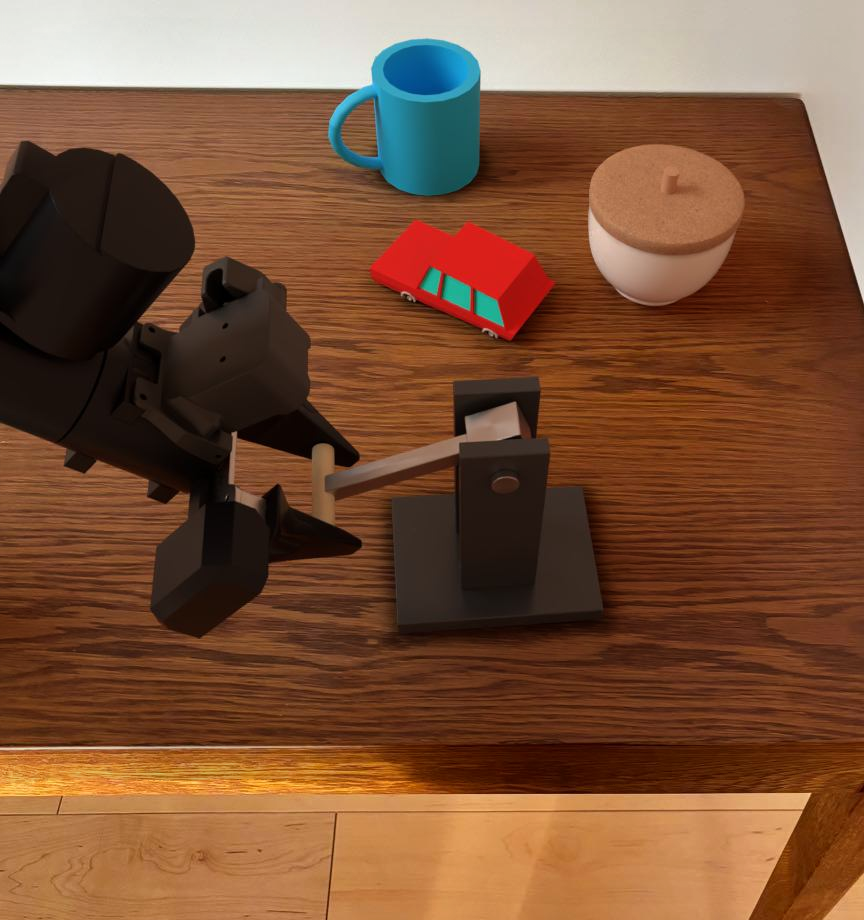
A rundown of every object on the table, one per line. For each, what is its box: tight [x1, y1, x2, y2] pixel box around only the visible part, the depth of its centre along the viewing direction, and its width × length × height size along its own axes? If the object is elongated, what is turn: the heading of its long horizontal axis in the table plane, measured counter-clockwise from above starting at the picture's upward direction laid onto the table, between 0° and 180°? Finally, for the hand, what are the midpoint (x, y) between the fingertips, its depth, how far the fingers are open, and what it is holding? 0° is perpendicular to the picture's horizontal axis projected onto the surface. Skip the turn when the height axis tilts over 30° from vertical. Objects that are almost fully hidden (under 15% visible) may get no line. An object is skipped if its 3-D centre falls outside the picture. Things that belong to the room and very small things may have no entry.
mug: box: [327, 38, 482, 197], centre depth 79 cm, size 12×8×8 cm
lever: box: [311, 401, 531, 526], centre depth 53 cm, size 12×6×2 cm, turn 96°
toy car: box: [369, 219, 556, 342], centre depth 73 cm, size 6×12×4 cm, turn 60°
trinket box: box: [587, 143, 746, 307], centre depth 72 cm, size 11×11×9 cm
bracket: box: [390, 376, 604, 635], centre depth 56 cm, size 12×9×14 cm
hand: (356, 503), depth 55 cm, fingers closed on lever, 5 cm apart
